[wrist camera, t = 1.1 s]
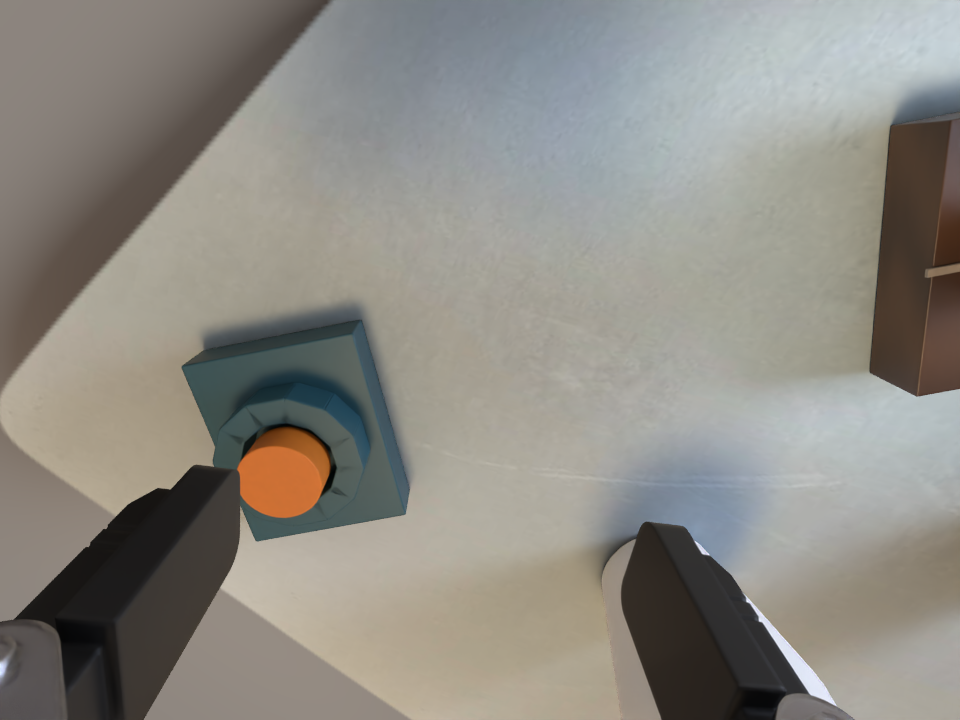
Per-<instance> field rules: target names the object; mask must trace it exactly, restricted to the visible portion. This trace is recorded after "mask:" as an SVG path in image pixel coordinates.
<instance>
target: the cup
mask: <svg viewBox="0 0 960 720" xmlns="http://www.w3.org/2000/svg"><path fill="white" fill-rule="evenodd" d="M635 541H636V539H634V540H632V541H630V542H628V543H627V544H625V545H624V546H622V547H621V548H620V549H618V550H617V551H616V552H615V553H614V554H613V555H612V557H611V558H610V559H609V561H608V562H607V564H606V566H605V568H604V571H603V574H602V580H601V585H602V592H603V599H604V606H605V612H606V619H607V626H608V633H609V639H610V646H611V653H612V660H613V666H614V673H615V680H616V686H617V693H618V700H619V706H620V713H621V720H661V717H660V714H659V711H658V709H657V706H656V703H655V700H654V698H653V695H652V692H651V689H650V686H649V684H648V681H647V678H646V675H645V673H644V670H643V667H642V664H641V661H640V659H639V656H638V653H637V650H636V648H635V645H634V642H633V639H632V636H631V634H630V631H629V628H628V625H627V623H626V620H625V617H624V614H623V610H622V605H621V586H622V581H623V577H624V574H625V571H626V568H627V565H628V562H629V559H630V556H631V553H632V550H633V547H634V544H635ZM695 543H696V545H697V546H698V548H699V550H700V551H701V553H702V554H704V555H709V554H708V553H707V552H706V551H705V549H704V548H703V547H702V546H701V545H700V544H699V543H697V542H696V541H695ZM709 556H710V555H709ZM743 594H744V593H743ZM744 595H745V594H744ZM745 597H746V602H749V603H750V604H751V606H752V607H753V609H754V610H755V612H756V613H757V615H758V616H759V622H763V624H764V626H765V627H766V629H767V630H768V632H769V633H770V635H771V636H772V638H773V639H774V641H775V642H776V644H777V645H778V647H779V648H780V650H781V651H782V653H783V654H784V656H785V657H786V659H787V660H788V662H789V663H790V665H791V666H792V668H793V669H794V671H795V673H796V674H797V676H798V677H799V679H800V680H801V682H802V683H803V685H804V686H805V688H806V689H807V691H808V692H809V694H810V695H812V696H815V697H818V698H820V699H823V700H825V701H827V702H829V703H831V704H833V705H835V706H836V704H835V702H834V701H833V699H832V697H831V696H830V694H829V692H828V690H827V689H826V687H825V685H824V684H823V683H822V681H821V680H820V679H819V678H818V676H817V675H816V674H815V673H814V671H813V670H812V669H811V668H810V667H809V666H808V664H807V663H806V662H805V661H804V660H803V659H802V658H801V657H800V655H799V654H798V653H797V652H796V651H795V650H794V649H793V648H792V646H791V645H790V644H789V643H788V642H787V641H786V640H785V639H784V637H783V636H782V635H781V634H780V633H779V632H778V631H777V630H776V629H775V627H774V626H773V625H772V624H771V623H770V622H769V621H768V620H767V619H766V617H765V616H764V615H763V614H762V613H761V612H760V611H759V610H758V609H757V607H756V606H755V605H754V604H753V603H752V602H751V601H750V600H749V598H748V597H747V596H746V595H745ZM836 707H837V706H836Z"/></svg>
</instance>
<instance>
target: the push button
mask: <svg viewBox="0 0 960 720" xmlns="http://www.w3.org/2000/svg"><path fill="white" fill-rule="evenodd" d="M237 470H238V472H239V474H240V495H241V496H242V498H243V499H244V500H245V501H246V503H247V504H249V505H250V506H251V507H252V508H254V509H255V510H257V511H258V512H260V513H263V514H265V515H268V516H272V517H278V518H288V517H294V516H298V515H301V514H303V513H305V512H307V511H308V510H309V509H311V508H312V507H313V506H314V505H315V504H316V502H317V501H318V499H319V497H320V495H321V493H322V490H323V488H324V486H325V483H326V481H327V479H328V476H329V474H330V470H331V459H330V455H329V453H328V450H327V449H326V447H325V445H324V444H323V443H322V442H321V441H320V440H319V439H318V438H317V437H316V436H314V435H313V434H311V433H310V432H308V431H305V430H303V429H300V428H295V427H278V428H274V429H271V430H269V431H267V432H265V433H263V434H262V435H261V436H260V437H259V438H258V439H257V440H256V441H255V443H254V444H253V445H252V447H251V448H250V449H249V451H248V452H247V453H246V455H245V456H244V457H243V459H242V460H241V461H240V463H239V465H238V467H237Z"/></svg>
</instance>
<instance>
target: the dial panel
mask: <svg viewBox="0 0 960 720" xmlns="http://www.w3.org/2000/svg"><path fill="white" fill-rule="evenodd" d="M870 373H871V374H873V375H875V376H877V377H879V378H881V379H883V380H885V381H887V382H889V383H891V384H893V385H895V386H897V387H899V388H901V389H903V390H905V391H907V392H909V393H911V394H913V395H915V396H923V395H928V394H934V393H939V392H945V391H950V390H956V389H960V112H955V113H950V114H945V115H940V116H935V117H930V118H925V119H920V120H915V121H910V122H906V123H901V124H896V125H892V126H891V132H890V144H889V156H888V167H887V179H886V191H885V203H884V214H883V226H882V238H881V249H880V261H879V273H878V285H877V296H876V308H875V320H874V331H873V343H872V355H871V367H870Z"/></svg>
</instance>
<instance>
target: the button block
mask: <svg viewBox="0 0 960 720" xmlns="http://www.w3.org/2000/svg"><path fill="white" fill-rule="evenodd" d="M182 370H183V372H184V375H185V377H186V379H187V382H188V384H189V386H190V389H191V391H192V393H193V396H194V398H195V400H196V403H197V405H198V407H199V410H200V412H201V414H202V417H203V419H204V421H205V424H206V426H207V428H208V431H209V433H210V435H211V438H212V440H213V442H214V445H215V451H214V457H213V465H214V467H218V468H227V469H235V470H237V467H238V465H239V463H240V461H241V460H242V459H243V457H244V456H245V455H246V453H247V452H248V451H249V449H250V448H251V447H252V445H253V444H254V443H255V441H256V440H257V439H258V438H259V437H260V436H261V435H262V434H263V433H265V432H267V431H269V430H271V429H274V428H278V427H295V428H300V429H303V430H305V431H308V432H310V433H311V434H313V435H314V436H316V437H317V438H318V439H319V440H320V441H321V442H322V443H323V444H324V445H325V447H326V449H327V450H328V453H329V455H330V459H331V470H330V474H329V476H328V479H327V481H326V483H325V486H324V488H323V490H322V493H321V495H320V497H319V499H318V501H317V502H316V504H315V505H314V506H313V507H312V508H311V509H309V510H308V511H307V512H305V513H303V514H301V515H298V516H294V517H288V518H278V517H272V516H268V515H265V514H263V513H260V512H258V511H257V510H255V509H254V508H252V507H251V506H250V505H249V504H247V503H246V501H245V500H244V499H243V498H242V496H241V495H240V505H241V508H242V510H243V512H244V515H245V517H246V519H247V522H248V524H249V526H250V529H251V531H252V533H253V536H254V538H255V540H256V541H262V540H268V539H273V538H279V537H284V536H290V535H295V534H301V533H306V532H312V531H317V530H323V529H329V528H334V527H340V526H345V525H351V524H356V523H362V522H367V521H373V520H378V519H384V518H390V517H395V516H401V515H405V514H406V509H407V503H408V497H409V490H410V489H409V486H408V482H407V479H406V475H405V472H404V468H403V465H402V461H401V458H400V454H399V451H398V447H397V443H396V440H395V436H394V433H393V429H392V426H391V422H390V419H389V415H388V412H387V408H386V405H385V401H384V398H383V394H382V391H381V387H380V384H379V380H378V377H377V373H376V369H375V366H374V362H373V359H372V355H371V352H370V348H369V345H368V341H367V338H366V334H365V331H364V327H363V324H362V321H361V320H357V321H352V322H347V323H342V324H336V325H331V326H326V327H321V328H316V329H311V330H306V331H301V332H295V333H290V334H285V335H280V336H275V337H270V338H265V339H259V340H254V341H249V342H244V343H239V344H234V345H229V346H224V347H218V348H213V349H208V350H204V351H202V352H201V353H199V354H198V355H197V356H195V357H194V358H192V359H191V360H190V361H188V362H187V363H185V364H184V365H183V366H182Z"/></svg>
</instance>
